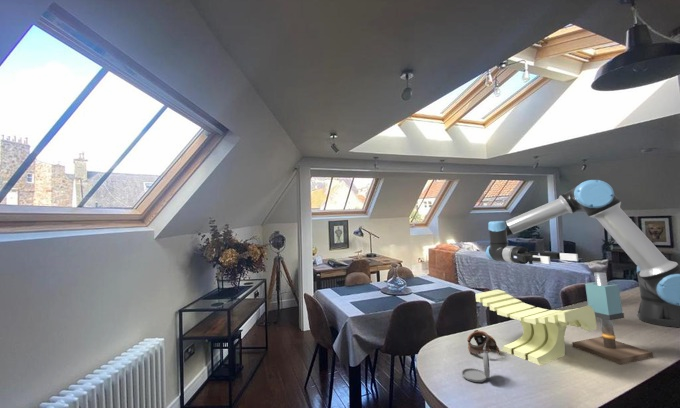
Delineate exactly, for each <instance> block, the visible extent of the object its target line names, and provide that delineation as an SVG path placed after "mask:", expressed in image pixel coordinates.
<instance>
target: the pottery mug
mask: <svg viewBox="0 0 680 408" xmlns="http://www.w3.org/2000/svg"><path fill="white" fill-rule="evenodd" d="M472 339H473V340H474V341H475V342H476V345H474V344H473V343H471V341H472ZM467 343H468V344H467V346H468V347H467V349H468V353H469V354H470V355H472V354H476V355H480V354H483V353H484V350H483V348H484V346H485V343H486V347H485V348H486V352H488V353H492V351H491V350H493V351H496V352H497V353H498V356H501V350H500V348H499V347H498V345H497V341H496V340H495V338H494V337H492V336H491V335H489V334H488V333H486V332H485V331H481V330H478V329H476V330H474V331H473V332H472V333H469V335H468V337H467Z"/></svg>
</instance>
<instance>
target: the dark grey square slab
mask: <svg viewBox="0 0 680 408" xmlns="http://www.w3.org/2000/svg"><path fill="white" fill-rule="evenodd" d="M594 313H595V318H598V319H600V318H602V319H606V320H613V321H615V320H621V319H625V313H624V312H622V313H619V314H614V315H606V314H601V313H597V312H594Z"/></svg>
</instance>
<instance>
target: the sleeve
mask: <svg viewBox="0 0 680 408" xmlns="http://www.w3.org/2000/svg"><path fill="white" fill-rule="evenodd" d="M584 285H585V292H586V299H587V300H586V301H587V305H589V306H591V307H592V308H593V310H594V312H597V313H601V314H606V315H614V314H619V313H623V308H622V302H621V294H620V287H619V284H616V283H608V282H607V285H606V286H601V285H596V284H595V281H594V282H588V283H585V284H584Z"/></svg>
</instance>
